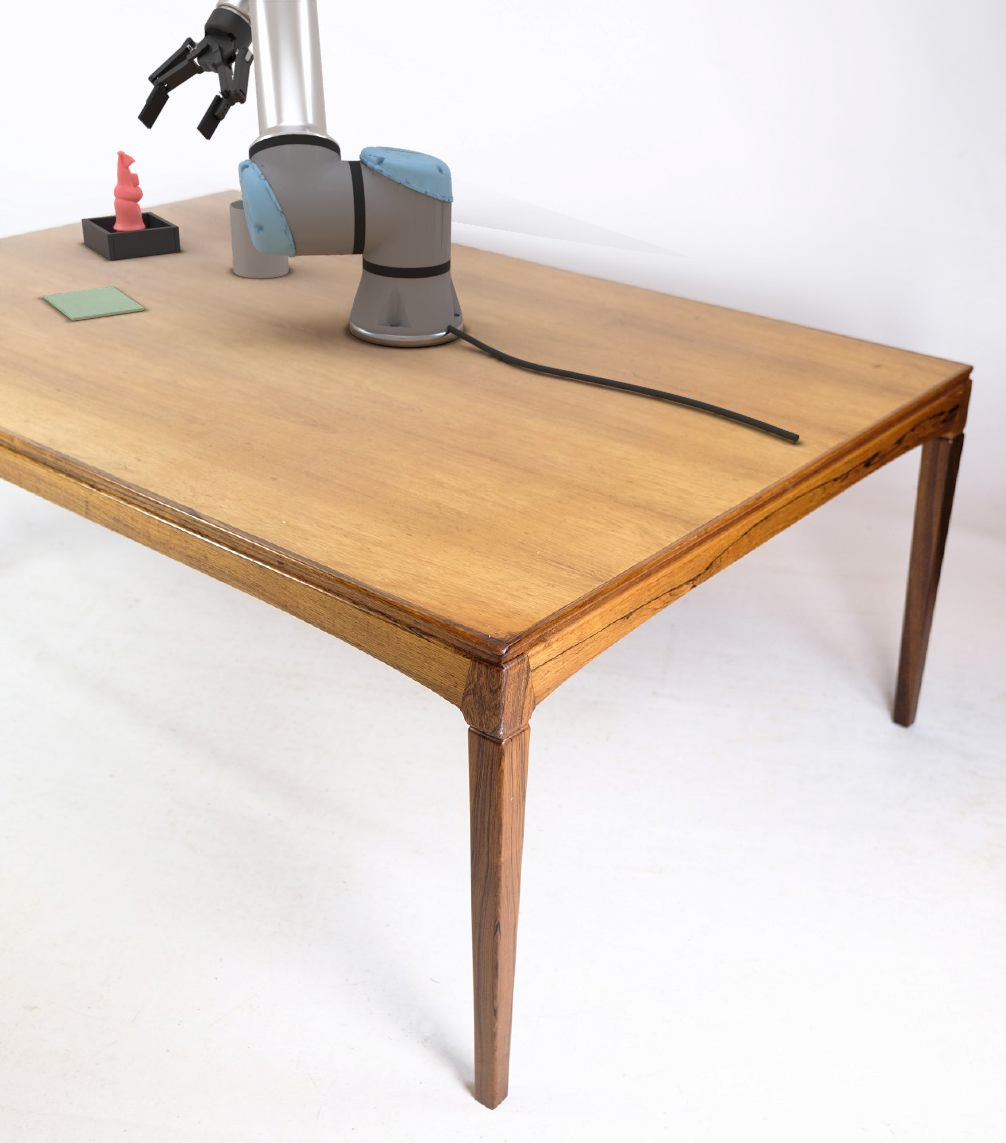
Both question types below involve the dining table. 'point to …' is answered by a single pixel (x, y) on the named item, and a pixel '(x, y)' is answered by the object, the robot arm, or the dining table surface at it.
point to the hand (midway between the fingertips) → (173, 129)
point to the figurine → (127, 196)
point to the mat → (93, 303)
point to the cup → (251, 250)
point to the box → (131, 237)
